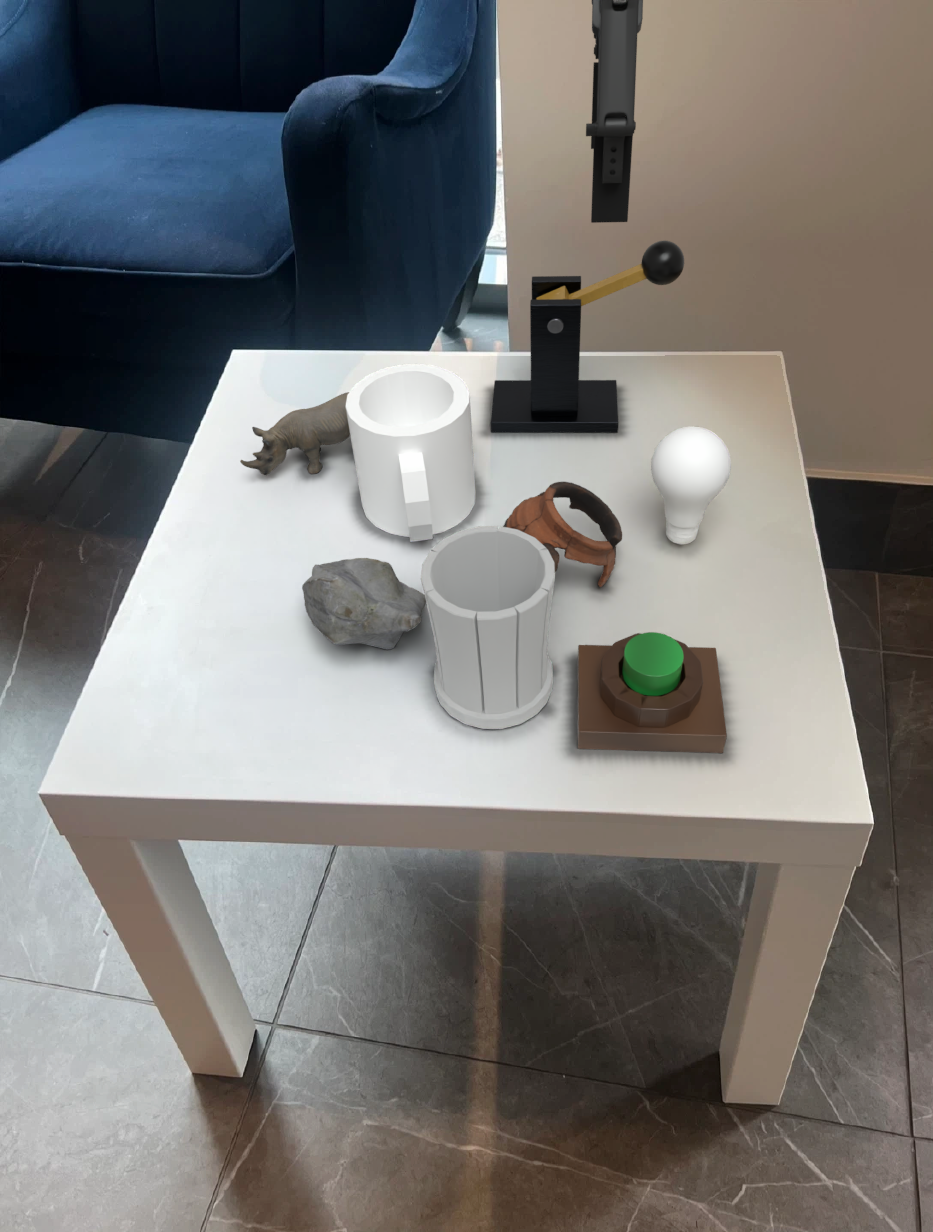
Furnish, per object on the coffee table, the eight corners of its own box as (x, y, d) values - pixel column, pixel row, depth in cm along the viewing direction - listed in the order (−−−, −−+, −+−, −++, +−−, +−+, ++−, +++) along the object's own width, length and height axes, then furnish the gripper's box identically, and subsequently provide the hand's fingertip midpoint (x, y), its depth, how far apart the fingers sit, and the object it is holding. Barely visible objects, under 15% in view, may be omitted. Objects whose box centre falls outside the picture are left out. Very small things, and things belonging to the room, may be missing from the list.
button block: (712, 665, 75) (719, 628, 72) (723, 753, 69) (731, 718, 66) (577, 662, 76) (579, 626, 73) (577, 748, 70) (579, 714, 67)
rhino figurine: (239, 474, 94) (224, 421, 89) (373, 426, 97) (365, 373, 93) (254, 498, 91) (239, 445, 87) (390, 449, 95) (383, 395, 91)
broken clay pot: (505, 525, 87) (554, 456, 82) (592, 590, 87) (647, 525, 82) (451, 590, 78) (502, 516, 73) (548, 663, 78) (607, 594, 73)
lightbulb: (665, 507, 87) (677, 401, 79) (730, 533, 85) (749, 426, 76) (630, 548, 84) (639, 442, 76) (696, 576, 81) (713, 469, 73)
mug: (490, 554, 84) (485, 453, 77) (369, 571, 84) (351, 470, 76) (467, 456, 94) (461, 356, 86) (358, 470, 93) (342, 371, 85)
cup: (393, 698, 74) (373, 583, 66) (453, 617, 80) (442, 501, 71) (519, 750, 70) (517, 636, 62) (574, 662, 76) (578, 545, 67)
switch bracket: (615, 390, 100) (623, 269, 90) (617, 432, 95) (626, 310, 85) (495, 390, 101) (490, 271, 91) (490, 432, 96) (485, 311, 87)
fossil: (462, 622, 79) (456, 548, 73) (401, 702, 74) (389, 629, 68) (347, 576, 83) (332, 503, 78) (281, 649, 78) (260, 577, 72)
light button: (678, 652, 71) (681, 632, 70) (682, 697, 68) (685, 677, 67) (621, 651, 72) (623, 631, 70) (623, 695, 69) (625, 675, 67)
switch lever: (688, 261, 87) (674, 225, 85) (691, 282, 85) (677, 246, 83) (550, 320, 93) (533, 287, 90) (549, 341, 90) (532, 308, 88)
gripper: (567, -180, 74) (563, 121, 89) (561, -98, 57) (557, 256, 72) (670, -186, 73) (649, 119, 89) (695, -104, 56) (663, 255, 72)
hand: (608, 181), depth 80 cm, fingers open, 13 cm apart
